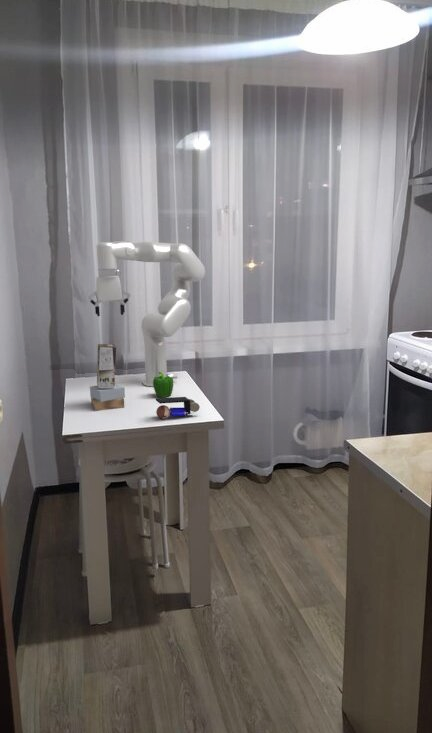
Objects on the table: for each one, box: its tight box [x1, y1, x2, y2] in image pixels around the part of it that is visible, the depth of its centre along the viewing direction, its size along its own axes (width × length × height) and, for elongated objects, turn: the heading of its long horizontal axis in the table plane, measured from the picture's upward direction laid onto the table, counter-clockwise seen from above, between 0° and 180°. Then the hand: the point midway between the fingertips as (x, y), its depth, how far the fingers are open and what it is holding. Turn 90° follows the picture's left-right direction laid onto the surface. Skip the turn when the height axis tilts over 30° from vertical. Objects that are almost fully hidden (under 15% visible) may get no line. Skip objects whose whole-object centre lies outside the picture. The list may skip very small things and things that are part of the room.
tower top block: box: [89, 383, 126, 402], centre depth 225 cm, size 10×10×4 cm
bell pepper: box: [153, 372, 174, 398], centre depth 239 cm, size 8×8×10 cm
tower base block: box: [90, 397, 125, 412], centre depth 226 cm, size 11×11×4 cm
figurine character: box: [155, 396, 201, 420], centre depth 210 cm, size 7×8×15 cm
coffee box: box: [96, 343, 117, 389], centre depth 224 cm, size 9×6×16 cm
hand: (110, 315), depth 238 cm, fingers open, 9 cm apart
